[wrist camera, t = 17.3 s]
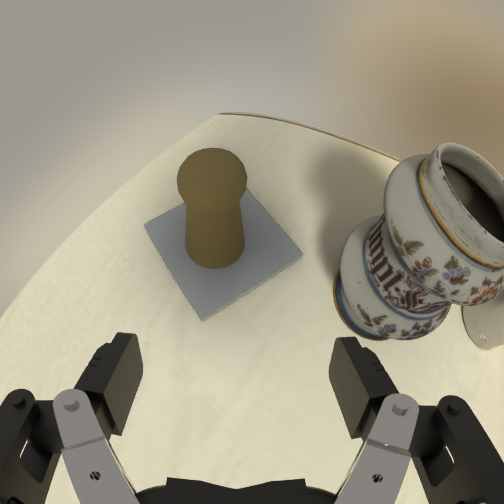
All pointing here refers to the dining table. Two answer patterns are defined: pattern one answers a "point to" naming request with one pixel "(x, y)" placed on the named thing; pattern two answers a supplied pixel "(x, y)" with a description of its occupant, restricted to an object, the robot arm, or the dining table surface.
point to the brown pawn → (213, 206)
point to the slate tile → (233, 276)
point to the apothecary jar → (425, 247)
